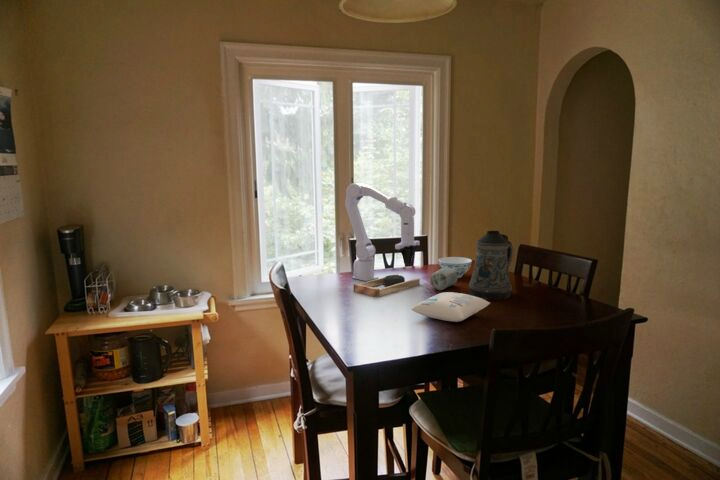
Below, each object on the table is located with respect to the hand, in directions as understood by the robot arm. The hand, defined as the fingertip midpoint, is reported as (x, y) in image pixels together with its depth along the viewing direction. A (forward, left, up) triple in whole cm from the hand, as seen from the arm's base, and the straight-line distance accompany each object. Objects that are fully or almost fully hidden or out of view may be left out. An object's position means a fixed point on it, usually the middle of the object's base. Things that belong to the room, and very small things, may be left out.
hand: (407, 263), depth 201 cm
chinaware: (+10, +22, -9) cm, 26 cm away
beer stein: (+37, +7, -9) cm, 39 cm away
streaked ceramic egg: (+18, +2, -9) cm, 20 cm away
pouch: (+42, -28, -9) cm, 51 cm away
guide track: (0, -14, -8) cm, 16 cm away
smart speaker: (0, -9, -9) cm, 13 cm away
